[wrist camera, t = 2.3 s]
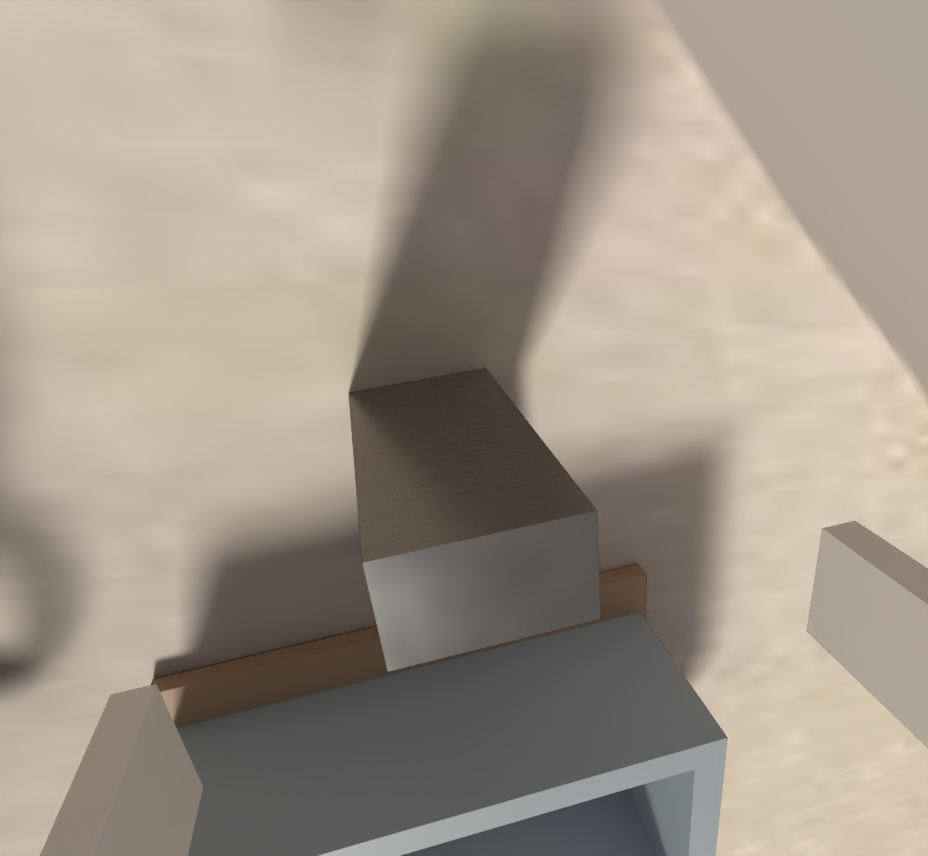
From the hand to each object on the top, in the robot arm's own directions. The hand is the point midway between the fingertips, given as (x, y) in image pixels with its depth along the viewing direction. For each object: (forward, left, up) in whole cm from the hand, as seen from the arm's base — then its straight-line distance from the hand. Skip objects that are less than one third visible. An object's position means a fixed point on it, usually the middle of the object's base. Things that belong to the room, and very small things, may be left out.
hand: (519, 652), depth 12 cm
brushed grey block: (+1, 0, -12) cm, 12 cm away
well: (+17, -2, -12) cm, 20 cm away
